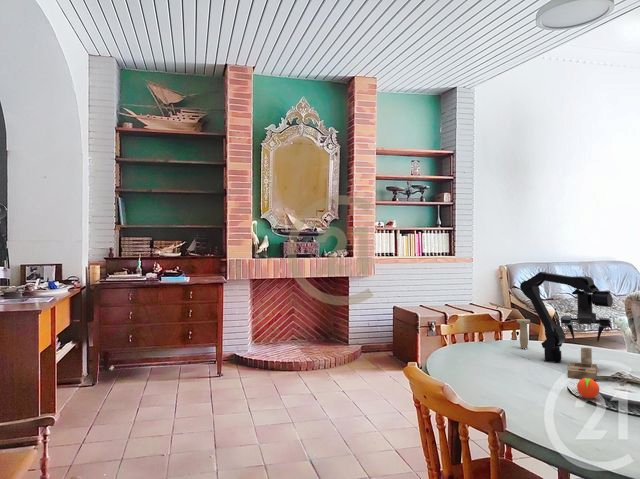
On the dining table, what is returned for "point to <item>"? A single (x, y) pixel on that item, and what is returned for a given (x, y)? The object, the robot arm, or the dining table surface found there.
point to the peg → (586, 355)
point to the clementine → (588, 388)
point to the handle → (523, 332)
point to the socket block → (582, 370)
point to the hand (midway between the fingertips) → (585, 340)
